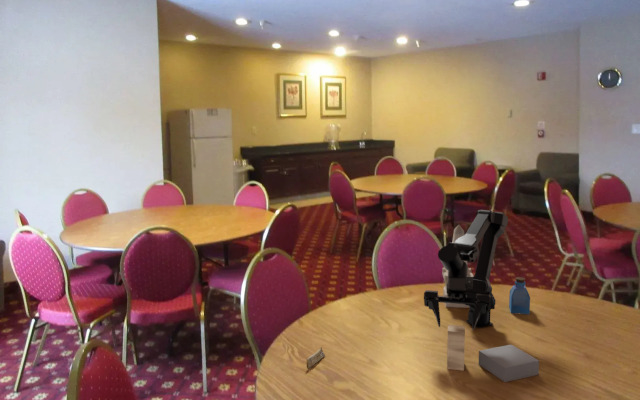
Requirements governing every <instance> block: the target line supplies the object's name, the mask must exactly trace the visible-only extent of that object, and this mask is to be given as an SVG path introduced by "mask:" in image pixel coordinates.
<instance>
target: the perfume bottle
mask: <svg viewBox="0 0 640 400" xmlns="http://www.w3.org/2000/svg"><path fill="white" fill-rule="evenodd" d="M525 280H526V278H525V277H523V276H516V277H515V281H514V285H512V287H511V288H510V290H509V298H508V299H509V300H508V301H509V303H508V308H509V311H510V314H516V313H517V315H518V314H519V313H520V314H519V315H530V311H531V310H530V308H531V296H530V294H529V291H528V289H527V287H526V281H525Z"/></svg>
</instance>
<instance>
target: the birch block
mask: <svg viewBox="0 0 640 400" xmlns="http://www.w3.org/2000/svg"><path fill="white" fill-rule="evenodd" d="M465 336H466V326H465V325H457V324H456V325H453V324H448V325H447V347H446V348H447V350H446V351H447V355H446V356H447V359H446V368H447V370H456V371H463V372H464V370H465V349H466V348H465V345H466V343H465V340H466V337H465Z"/></svg>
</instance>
